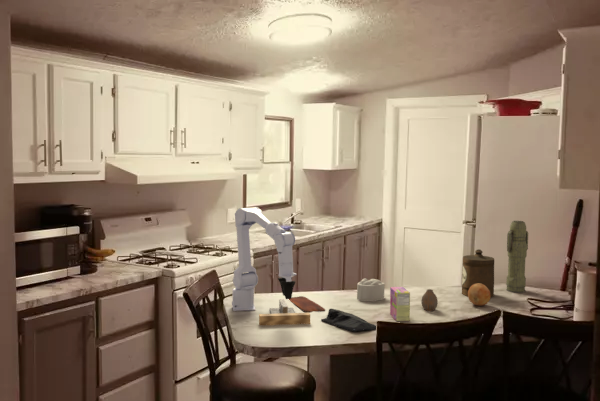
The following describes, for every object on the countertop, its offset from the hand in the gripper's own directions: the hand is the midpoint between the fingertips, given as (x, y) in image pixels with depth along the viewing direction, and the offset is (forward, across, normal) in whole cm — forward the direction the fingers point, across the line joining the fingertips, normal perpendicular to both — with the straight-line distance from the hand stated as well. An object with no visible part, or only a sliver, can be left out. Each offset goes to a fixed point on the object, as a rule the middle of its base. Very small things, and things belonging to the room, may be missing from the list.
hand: (287, 297), depth 219 cm
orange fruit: (+13, +15, -89) cm, 91 cm away
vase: (+12, +12, -64) cm, 66 cm away
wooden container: (+12, +34, -98) cm, 104 cm away
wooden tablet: (+10, +28, -12) cm, 32 cm away
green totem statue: (+13, +39, -121) cm, 128 cm away
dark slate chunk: (+12, -4, -24) cm, 27 cm away
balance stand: (+10, +12, 0) cm, 15 cm away
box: (+12, +2, -46) cm, 48 cm away
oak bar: (+11, 0, +1) cm, 11 cm away
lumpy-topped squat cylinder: (+10, +34, -44) cm, 56 cm away
